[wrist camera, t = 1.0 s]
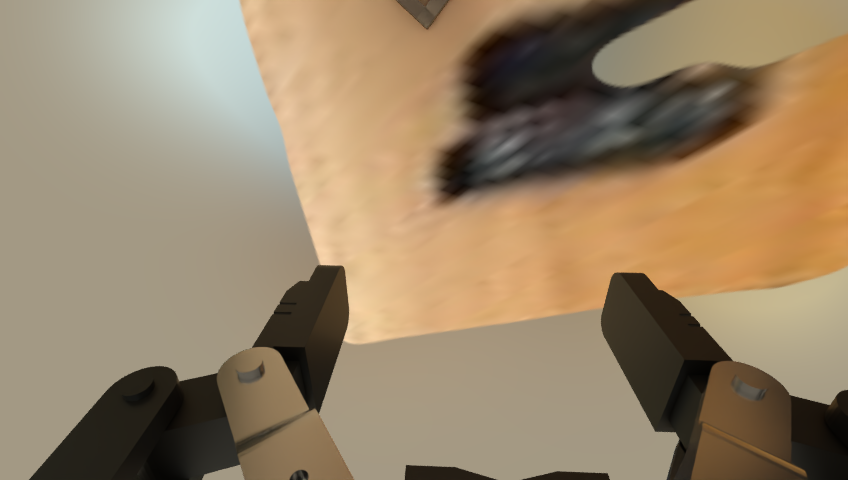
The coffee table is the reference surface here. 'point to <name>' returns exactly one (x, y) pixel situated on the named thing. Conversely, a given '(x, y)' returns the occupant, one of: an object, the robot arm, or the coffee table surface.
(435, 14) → the tray
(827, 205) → the coffee table surface
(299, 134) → the coffee table surface
